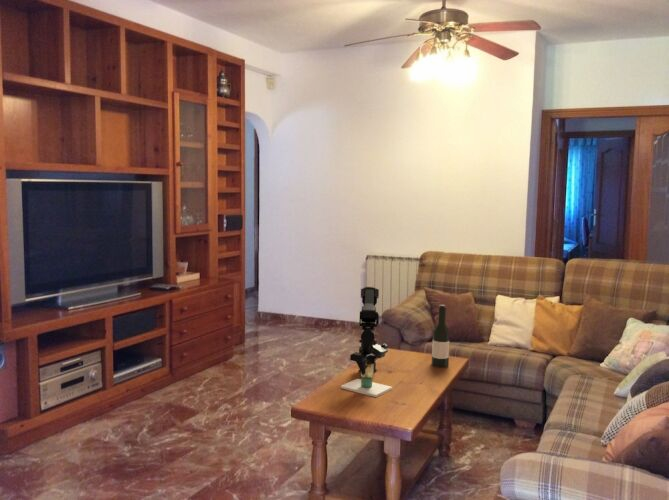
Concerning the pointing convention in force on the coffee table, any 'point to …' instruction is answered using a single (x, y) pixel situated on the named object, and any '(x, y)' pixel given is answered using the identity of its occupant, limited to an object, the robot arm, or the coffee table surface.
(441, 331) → the wine bottle
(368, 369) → the cap
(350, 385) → the neck block
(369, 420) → the coffee table surface
